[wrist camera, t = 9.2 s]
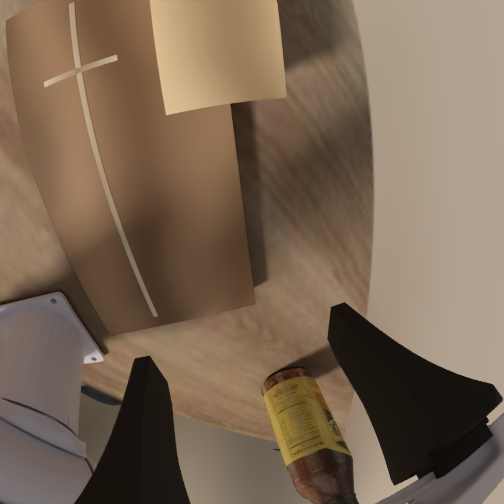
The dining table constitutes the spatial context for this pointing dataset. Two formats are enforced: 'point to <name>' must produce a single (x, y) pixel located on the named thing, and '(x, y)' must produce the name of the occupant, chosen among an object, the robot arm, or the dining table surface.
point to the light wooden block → (217, 52)
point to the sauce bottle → (309, 438)
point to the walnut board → (128, 166)
